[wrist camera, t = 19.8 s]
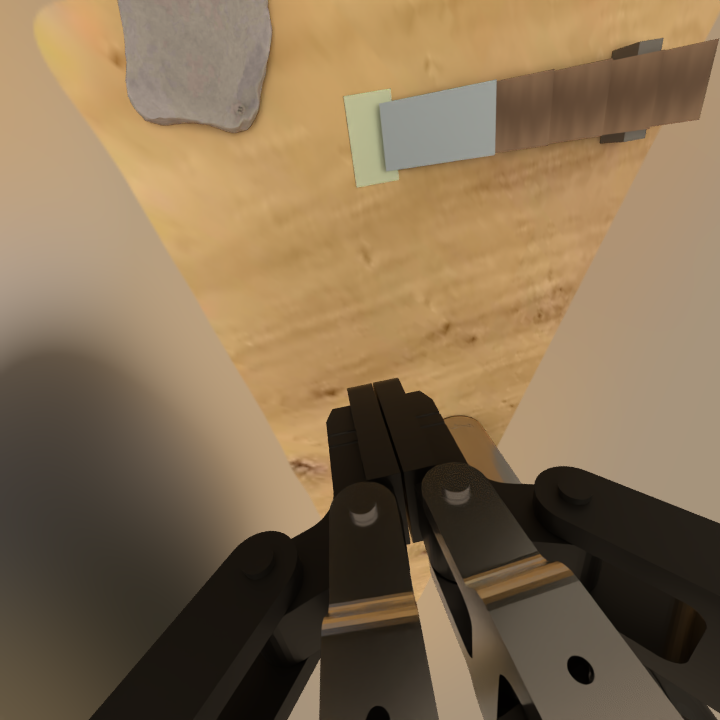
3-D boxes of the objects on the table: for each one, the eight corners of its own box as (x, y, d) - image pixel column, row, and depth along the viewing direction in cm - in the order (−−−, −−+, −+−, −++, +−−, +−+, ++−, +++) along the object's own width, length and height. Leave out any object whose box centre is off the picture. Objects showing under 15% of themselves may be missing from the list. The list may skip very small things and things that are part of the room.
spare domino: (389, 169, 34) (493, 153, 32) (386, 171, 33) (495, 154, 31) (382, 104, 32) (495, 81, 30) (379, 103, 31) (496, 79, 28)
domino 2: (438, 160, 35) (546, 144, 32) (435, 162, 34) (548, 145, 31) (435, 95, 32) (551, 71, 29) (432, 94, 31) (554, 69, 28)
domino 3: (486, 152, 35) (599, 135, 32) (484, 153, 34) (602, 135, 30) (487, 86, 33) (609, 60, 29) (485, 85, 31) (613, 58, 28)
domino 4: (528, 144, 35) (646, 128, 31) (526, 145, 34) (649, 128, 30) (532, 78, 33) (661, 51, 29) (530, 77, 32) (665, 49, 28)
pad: (398, 179, 35) (399, 179, 35) (356, 187, 35) (356, 187, 35) (390, 88, 32) (390, 88, 32) (343, 96, 32) (343, 96, 31)
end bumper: (619, 139, 36) (644, 138, 34) (600, 143, 36) (623, 141, 34) (634, 47, 33) (663, 37, 30) (612, 51, 33) (639, 41, 30)
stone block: (266, -40, 28) (112, -90, 25) (276, -66, 25) (95, -129, 21) (263, 140, 34) (137, 121, 31) (271, 143, 30) (128, 120, 27)
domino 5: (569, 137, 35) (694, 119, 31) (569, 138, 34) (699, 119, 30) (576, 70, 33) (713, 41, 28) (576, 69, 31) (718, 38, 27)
